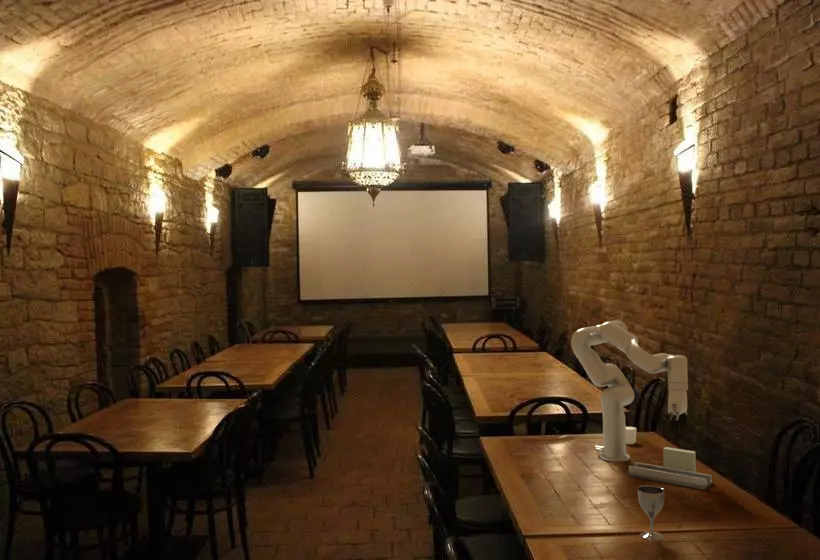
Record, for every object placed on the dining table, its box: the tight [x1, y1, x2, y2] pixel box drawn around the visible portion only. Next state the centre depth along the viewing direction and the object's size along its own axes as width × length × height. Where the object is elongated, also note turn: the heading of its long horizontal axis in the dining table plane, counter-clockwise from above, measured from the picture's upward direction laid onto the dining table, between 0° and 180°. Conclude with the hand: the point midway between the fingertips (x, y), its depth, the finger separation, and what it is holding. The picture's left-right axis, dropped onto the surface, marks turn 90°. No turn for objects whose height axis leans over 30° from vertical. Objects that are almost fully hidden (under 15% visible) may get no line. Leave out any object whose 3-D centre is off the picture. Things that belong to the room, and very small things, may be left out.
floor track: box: [626, 461, 714, 491], centre depth 271 cm, size 30×10×4 cm, turn 50°
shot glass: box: [626, 426, 637, 445], centre depth 325 cm, size 7×7×7 cm
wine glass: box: [637, 484, 665, 542], centre depth 217 cm, size 8×8×15 cm
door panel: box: [662, 446, 697, 472], centre depth 280 cm, size 12×3×9 cm, turn 50°
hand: (679, 427), depth 279 cm, fingers open, 9 cm apart
